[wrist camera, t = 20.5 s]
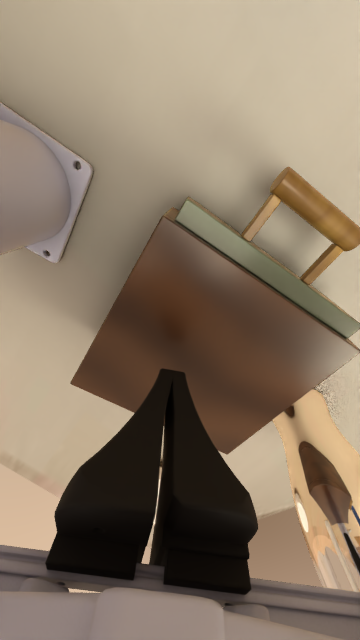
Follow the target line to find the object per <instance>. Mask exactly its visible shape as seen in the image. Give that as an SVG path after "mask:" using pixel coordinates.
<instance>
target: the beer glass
mask: <svg viewBox="0 0 360 640" xmlns="http://www.w3.org/2000/svg"><path fill="white" fill-rule="evenodd" d="M272 421H273V423H274V425H275V426H276V428H277V430H278V432H279V434H280V436H281V439H282V441H283V445H284V449H285V454H286V459H287V466H288V472H289V478H290V484H291V489H292V494H293V499H294V503H295V508H296V512H297V515H298V519H299V522H300V525H301V529H302V532H303V535H304V538H305V541H306V544H307V547H308V550H309V553H310V555H311V558H312V561H313V563H314V566H315V569H316V571H317V574H318V576H319V579H320V582H321V584H322V587H324V588H331V589H339V590H347V591H354V592H360V455H359V454H358V453H357V451H356V450H355V449H354V448H353V447H352V446H351V444H350V443H349V442H348V441H347V440H346V438H345V437H344V436H343V435H342V434H341V432H340V431H339V429H338V428H337V426H336V425H335V423H334V421H333V419H332V417H331V415H330V413H329V410H328V407H327V404H326V402H325V399H324V397H323V396H322V395H321V394H320V393H319V392H318V391H317V390H315V389H312V390H311V391H309V392H308V393H307V394H305V395H304V396H303V397H302V398H300V399H299V400H298V401H296V402H295V403H294V404H292V405H291V406H290V407H288V408H287V409H286V410H285V411H283V412H282V413H281V414H279V415H278V416H277V417H275V418H274V419H273V420H272Z"/></svg>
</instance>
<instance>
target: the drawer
mask: <svg viewBox="0 0 360 640" xmlns="http://www.w3.org/2000/svg"><path fill="white" fill-rule="evenodd" d="M270 192H271V193H272V194H271V195H270V196H269V198H268V199H267V200H266V202H265V203H264V204H263V206H262V207H261V208H260V210H259V211H258V212H257V214H256V215H255V217H254V218H253V219H252V221H251V222H250V223H249V225H248V226H247V227H246V229H245V230H244V231H243V233H242V234H240V233H238V232H237V231H236V230H234V229H233V228H232V227H230V226H229V225H227V224H226V223H225V222H223V221H222V220H221V219H219V218H218V217H216V216H215V215H214V214H212V213H211V212H210V211H208V210H207V209H205V208H204V207H203V206H201V205H200V204H199V203H197V202H196V201H194V200H193V199H192V198H190V197H189V196H188V197H187V199H186V201H185V202H184V204H183V206H182V208H181V209H180V211H179V213H178V215H177V216H176V218H175V220H176V221H177V222H178V223H180V224H181V225H183V226H184V227H186V228H187V229H189V230H190V231H192V232H193V233H194V234H196V235H197V236H199V237H200V238H202V239H203V240H205V241H206V242H207V243H209V244H210V245H212V246H213V247H215V248H216V249H218V250H219V251H220V252H222V253H223V254H225V255H226V256H228V257H229V258H231V259H232V260H234V261H235V262H236V263H238V264H239V265H241V266H242V267H244V268H245V269H247V270H248V271H249V272H251V273H252V274H254V275H255V276H257V277H258V278H260V279H261V280H262V281H264V282H265V283H267V284H268V285H270V286H271V287H273V288H274V289H276V290H277V291H278V292H280V293H281V294H283V295H284V296H286V297H287V298H289V299H290V300H291V301H293V302H294V303H296V304H297V305H299V306H300V307H302V308H303V309H304V310H306V311H307V312H309V313H310V314H312V315H313V316H315V317H316V318H318V319H319V320H320V321H322V322H323V323H325V324H326V325H328V326H329V327H331V328H332V329H333V330H335V331H336V332H338V333H339V334H341V335H342V336H344V337H345V338H349V337H350V336H351V335H353V334H354V333H355V332H356V331H357V330H359V329H360V323H359V322H357V321H356V320H355V319H354V318H352V317H351V316H350V315H349V314H347V313H346V312H345V311H344V310H342V309H341V308H340V307H339V306H337V305H336V304H335V303H334V302H332V301H331V300H330V299H329V298H327V297H326V296H325V295H323V294H322V293H321V292H319V291H318V290H317V289H315V288H314V287H312V286H311V285H310V284H311V283H312V282H313V281H314V280H315V279H316V278H317V277H318V276H319V275H320V274H321V273H322V272H323V271H324V270H325V269H326V268H327V267H328V266H329V265H330V264H331V263H332V262H333V261H334V260H335V259H336V258H337V257H338V256H339V255H340V254H341V253H342V252H343V251H350V250H352V249H354V248H356V247H357V246H358V245H359V244H360V227H359V226H358V225H356V224H355V223H354V222H353V221H352V220H351V219H349V218H348V217H347V216H346V215H345V214H344V213H343V212H341V211H340V210H339V209H338V208H337V207H336V206H334V205H333V204H332V203H331V202H330V201H329V200H327V199H326V198H325V197H324V196H323V195H322V194H321V193H319V192H318V191H317V190H316V189H315V188H314V187H312V186H311V185H310V184H309V183H308V182H307V181H305V180H304V179H303V178H302V177H301V176H300V175H299V174H297V173H296V172H295V171H294V170H293V169H292V168H290V167H287V168H285V169H284V170H283V171H282V172H281V173H280V174H279V175H278V177H277V178H276V179H275V181H274V182H273V184H272V185H271V187H270ZM281 201H282V202H283V203H284V204H285V205H287V206H288V207H289V208H290V209H292V210H293V211H294V212H295V213H297V214H298V215H299V216H300V217H302V218H303V219H304V220H305V221H306V222H308V223H309V224H310V225H311V226H313V227H314V228H315V229H316V230H318V231H319V232H320V233H321V234H323V235H324V236H325V237H326V238H327V239H329V240H330V241H331V242H332V243H334V244H331V245H330V247H329V248H328V249H327V250H326V251H325V252H324V253H323V254H322V255H321V256H320V257H319V258H318V259H317V260H316V261H315V262H314V263H313V265H312V266H311V267H310V268H309V269H308V270H307V271H306V272H305V273H304V274H303V275H302V276H301V277H299V276H297V275H296V274H295V273H293V272H292V271H291V270H289V269H288V268H286V267H285V266H284V265H282V264H281V263H280V262H278V261H277V260H275V259H274V258H273V257H271V256H270V255H269V254H267V253H266V252H264V251H263V250H262V249H260V248H259V247H258V246H256V245H255V244H253V243H252V242H251V240H252V239H253V237H254V236H255V235H256V233H257V232H258V231H259V230H260V228H261V227H262V226H263V224H264V223H265V222H266V220H267V219H268V218H269V217H270V215H271V214H272V213H273V211H274V210H275V209H276V207H277V206H278V205H279V203H280V202H281Z"/></svg>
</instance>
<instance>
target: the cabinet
mask: <svg viewBox="0 0 360 640" xmlns="http://www.w3.org/2000/svg"><path fill="white" fill-rule="evenodd" d="M178 213H179V211H178V210H177V209H176V208H174V207H172V208H171V209H170V210H169V211H167V212H166V213H165V214H164V215H163V216H162V217H161V219H160V221H159V223H158V225H157V226H156V228H155V230H154V232H153V234H152V235H151V237H150V239H149V241H148V243H147V245H146V246H145V248H144V250H143V252H142V254H141V255H140V257H139V259H138V261H137V263H136V265H135V266H134V268H133V270H132V272H131V274H130V275H129V277H128V279H127V281H126V283H125V284H124V286H123V288H122V290H121V292H120V294H119V295H118V297H117V299H116V301H115V303H114V304H113V306H112V308H111V310H110V312H109V314H108V315H107V317H106V319H105V321H104V323H103V324H102V326H101V328H100V330H99V332H98V334H97V335H96V337H95V339H94V341H93V343H92V344H91V346H90V348H89V350H88V352H87V354H86V355H85V357H84V359H83V361H82V363H81V364H80V366H79V368H78V370H77V372H76V373H75V375H74V377H73V379H72V381H71V384H72V385H74V386H76V387H79V388H81V389H83V390H85V391H87V392H90V393H92V394H94V395H96V396H99V397H101V398H103V399H105V400H107V401H110V402H112V403H114V404H116V405H118V406H121V407H123V408H125V409H127V410H130V411H132V412H134V413H135V412H136V411H137V410H138V408H139V407H140V406H141V404H142V403H143V401H144V400H145V398H146V397H147V395H148V394H149V392H150V390H151V389H152V387H153V385H154V383H155V381H156V379H157V377H158V374H159V371H160V369H162V368H164V369H169V370H175V371H181V372H184V373H185V374H186V379H187V384H188V387H189V391H190V394H191V397H192V400H193V402H194V405H195V408H196V410H197V412H198V415H199V417H200V419H201V421H202V424H203V426H204V428H205V429H206V431H207V433H208V435H209V437H210V439H211V440H212V442H213V444H214V446H215V447H216V449H217V450H218V451H220V452H223V453H225V454H229V453H230V452H231V451H233V450H234V449H235V448H236V447H238V446H239V445H240V444H242V443H243V442H244V441H246V440H247V439H248V438H249V437H251V436H252V435H253V434H255V433H256V432H257V431H259V430H260V429H261V428H262V427H264V426H265V425H266V424H268V423H269V422H270V421H272V420H273V419H274V418H275V417H277V416H278V415H279V414H281V413H282V412H283V411H285V410H286V409H287V408H288V407H290V406H291V405H292V404H294V403H295V402H296V401H298V400H299V399H300V398H302V397H303V396H304V395H305V394H307V393H308V392H309V391H311V390H312V389H313V388H315V387H316V386H317V385H318V384H320V383H321V382H322V381H324V380H325V379H326V378H328V377H329V376H330V375H331V374H333V373H334V372H335V371H337V370H338V369H339V368H341V367H342V366H343V365H344V364H346V363H347V362H348V361H350V360H351V359H352V358H354V357H355V356H356V355H357V354H359V353H360V349H358V348H357V347H356V346H355V345H354V344H353V343H352V342H351V341H350V340H349V339H348V338H345V337H344V336H342V335H341V334H339V333H338V332H336V331H335V330H333V329H332V328H331V327H329V326H328V325H326V324H325V323H323V322H322V321H320V320H319V319H318V318H316V317H315V316H313V315H312V314H310V313H309V312H307V311H306V310H304V309H303V308H302V307H300V306H299V305H297V304H296V303H294V302H293V301H291V300H290V299H289V298H287V297H286V296H284V295H283V294H281V293H280V292H278V291H277V290H276V289H274V288H273V287H271V286H270V285H268V284H267V283H265V282H264V281H262V280H261V279H260V278H258V277H257V276H255V275H254V274H252V273H251V272H249V271H248V270H247V269H245V268H244V267H242V266H241V265H239V264H238V263H236V262H235V261H234V260H232V259H231V258H229V257H228V256H226V255H225V254H223V253H222V252H220V251H219V250H218V249H216V248H215V247H213V246H212V245H210V244H209V243H207V242H206V241H205V240H203V239H202V238H200V237H199V236H197V235H196V234H194V233H193V232H192V231H190V230H189V229H187V228H186V227H184V226H183V225H181V224H180V223H178V222H177V221H176V220H175V218H176V216H177V215H178ZM164 423H165V416H164Z"/></svg>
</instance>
